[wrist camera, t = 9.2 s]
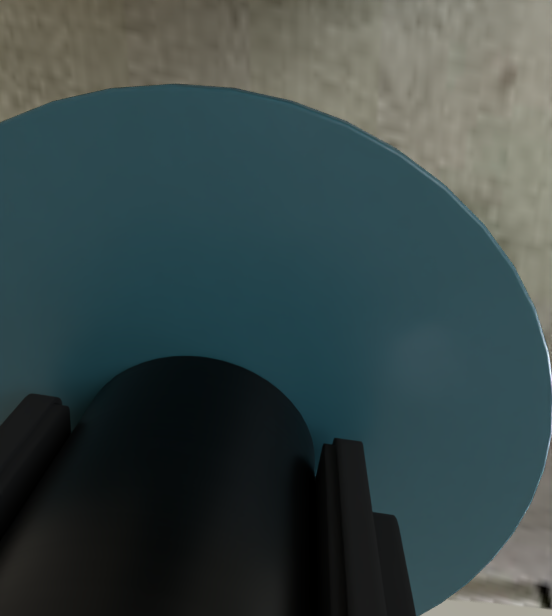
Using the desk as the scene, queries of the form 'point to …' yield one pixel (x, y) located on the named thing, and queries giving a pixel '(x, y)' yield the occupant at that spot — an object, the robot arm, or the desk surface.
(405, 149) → the desk surface
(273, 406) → the lid
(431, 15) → the desk surface
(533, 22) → the desk surface
